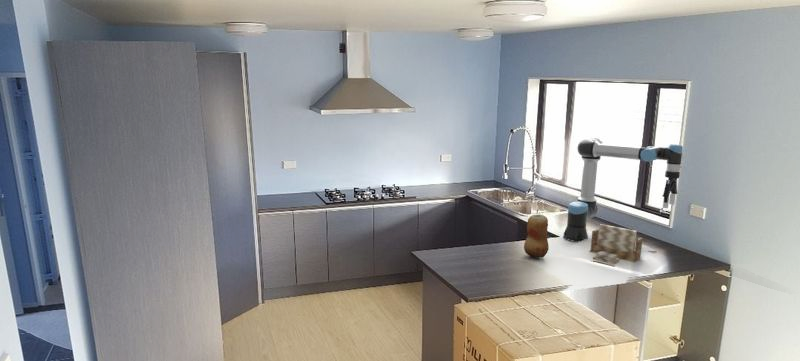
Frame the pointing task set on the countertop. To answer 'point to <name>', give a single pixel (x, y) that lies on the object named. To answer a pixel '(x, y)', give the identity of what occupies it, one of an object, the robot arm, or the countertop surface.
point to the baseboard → (646, 248)
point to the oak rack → (620, 254)
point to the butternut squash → (537, 236)
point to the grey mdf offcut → (606, 256)
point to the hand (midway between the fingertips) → (668, 206)
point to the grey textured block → (606, 261)
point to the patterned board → (617, 238)
